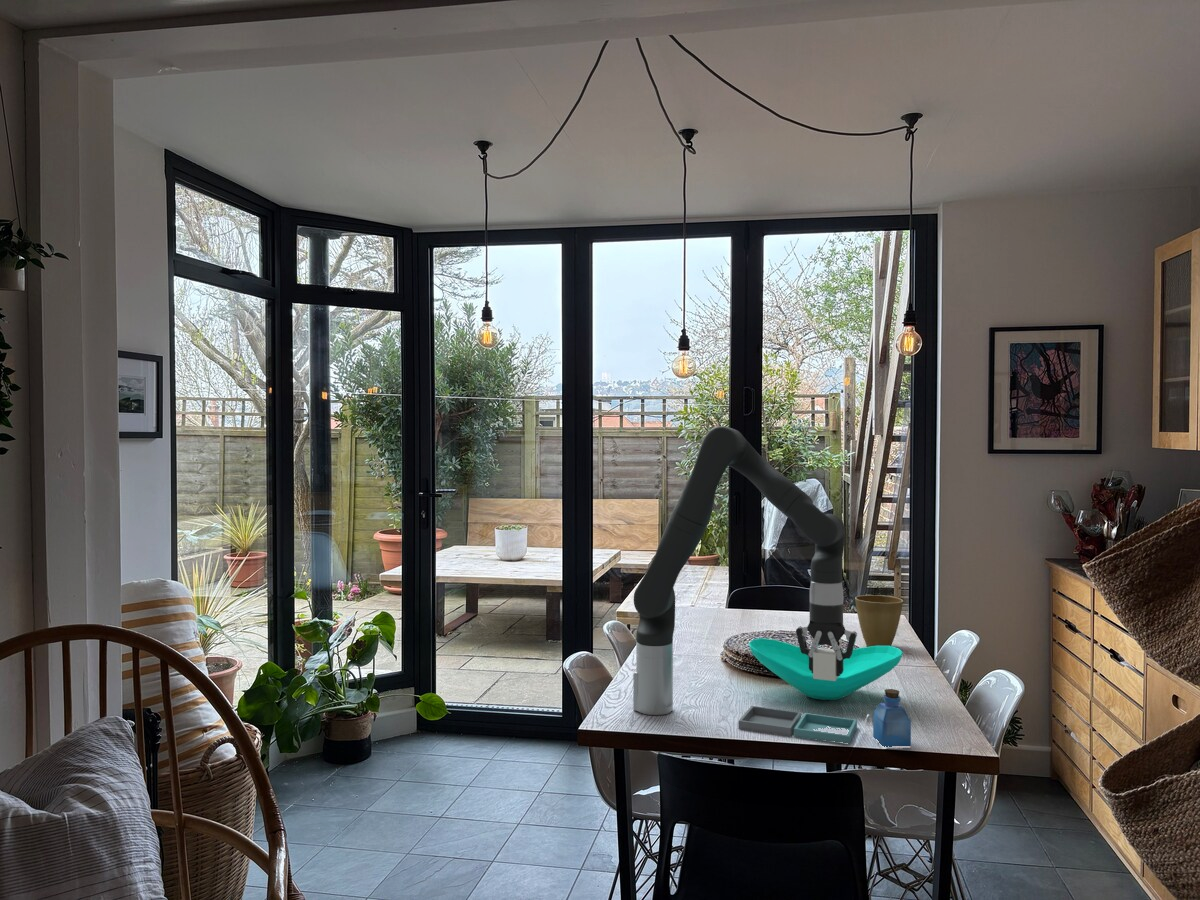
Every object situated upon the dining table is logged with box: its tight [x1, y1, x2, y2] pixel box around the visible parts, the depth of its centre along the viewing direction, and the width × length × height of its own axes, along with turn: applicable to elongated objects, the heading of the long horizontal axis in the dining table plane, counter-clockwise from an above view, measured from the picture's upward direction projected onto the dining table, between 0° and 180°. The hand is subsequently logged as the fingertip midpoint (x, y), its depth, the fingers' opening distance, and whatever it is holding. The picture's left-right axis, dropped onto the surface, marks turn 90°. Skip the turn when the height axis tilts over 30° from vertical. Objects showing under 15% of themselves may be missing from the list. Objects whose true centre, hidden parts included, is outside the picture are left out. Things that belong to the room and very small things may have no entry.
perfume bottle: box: [872, 688, 912, 747], centre depth 191 cm, size 6×6×12 cm
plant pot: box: [854, 594, 904, 647], centre depth 278 cm, size 15×15×16 cm
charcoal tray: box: [737, 705, 802, 737], centre depth 203 cm, size 12×12×2 cm
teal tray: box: [793, 712, 858, 745], centre depth 197 cm, size 12×12×2 cm
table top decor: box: [748, 637, 904, 701], centre depth 226 cm, size 40×28×13 cm
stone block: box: [813, 647, 838, 681], centre depth 197 cm, size 5×5×6 cm
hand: (826, 673), depth 197 cm, fingers closed on stone block, 5 cm apart
